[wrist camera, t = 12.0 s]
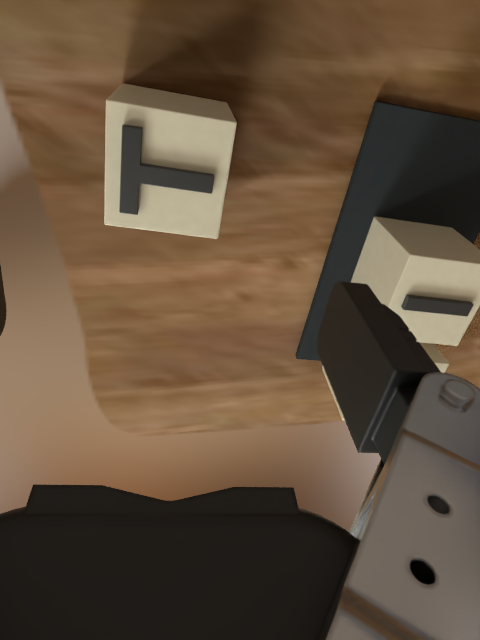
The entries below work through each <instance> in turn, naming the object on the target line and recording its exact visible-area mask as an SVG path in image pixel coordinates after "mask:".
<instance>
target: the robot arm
mask: <svg viewBox="0 0 480 640" xmlns="http://www.w3.org/2000/svg"><path fill="white" fill-rule="evenodd" d="M5 320H6V302H5V295H4V288H3V281H2V274H1V266H0V335H1V333H2V331H3V329H4V325H5ZM317 350H318V355H319V357H320V360H321V362H322V365H323V367H324V370H325V372H326V375H327V377H328V379H329V382H330V384H331V387H332V389H333V392H334V394H335V397H336V399H337V402H338V404H339V406H340V409H341V411H342V414H343V416H344V419H345V421H346V424H347V426H348V429H349V431H350V434H351V436H352V438H353V441H354V443H355V446H356V448H357V450H358V452H364V453H379V455H380V457H381V461H380V463H379V465H378V467H377V469H376V471H375V473H374V475H373V478H372V480H371V483H370V485H369V487H368V490H367V492H366V494H365V497H364V500H363V502H362V504H361V506H360V509H359V511H358V513H357V516H356V518H355V520H354V523H353V525H352V527H351V530H350V532H348V531H346V530H345V529H343V528H342V527H340V526H338V525H337V524H335V523H334V522H332V521H330V520H328V519H326V518H324V517H322V516H320V515H318V514H315V513H312V512H309V511H307V510H304V509H300V508H298V505H297V501H296V496H295V492H294V488H279V487H273V488H272V487H232V488H228V489H224V490H219V491H215V492H210V493H206V494H202V495H198V496H193V497H189V498H184V499H180V500H175V501H165V500H160V499H156V498H151V497H147V496H143V495H139V494H134V493H131V492H127V491H123V490H119V489H114V488H111V487H106V486H102V485H33V487H32V490H31V493H30V496H29V499H28V502H27V506H26V507H22V508H18V509H15V510H11V511H8V512H5V513H2V514H0V640H480V389H479V388H478V387H476V386H475V385H474V384H472V383H470V382H468V381H467V380H465V379H463V378H460V377H458V376H455V375H452V374H448V373H442V372H441V371H440V370H439V368H438V367H437V366H436V364H435V363H434V362H433V360H432V359H431V358H430V356H429V355H428V354H427V352H426V351H425V349H424V348H423V347H422V345H421V344H420V343H419V342H417V339H416V337H415V336H414V335H413V333H412V332H411V331H409V328H408V326H407V325H406V324H405V322H404V321H403V320H402V318H401V317H400V316H399V315H398V314H396V313H395V312H394V311H392V310H391V309H390V308H388V307H387V306H386V305H384V304H381V302H380V301H379V300H378V298H377V297H376V295H375V294H374V293H373V291H372V290H371V288H370V287H369V286H368V285H367V284H362V283H352V282H342V281H338V282H336V283H335V284H334V286H333V288H332V291H331V294H330V297H329V300H328V303H327V306H326V310H325V313H324V316H323V319H322V322H321V325H320V329H319V332H318V337H317Z"/></svg>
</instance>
